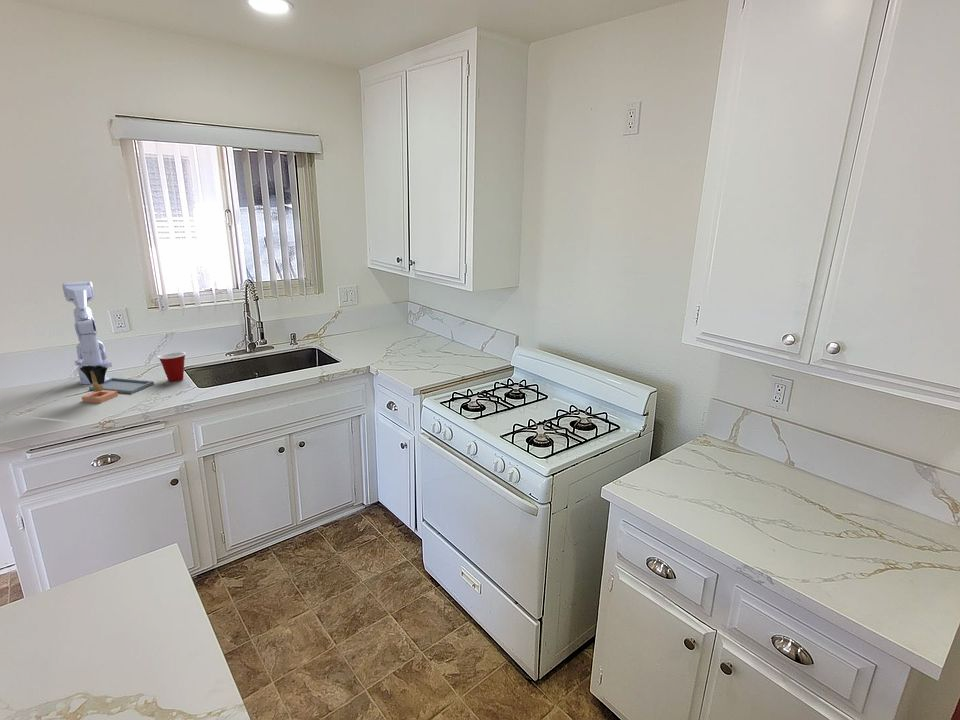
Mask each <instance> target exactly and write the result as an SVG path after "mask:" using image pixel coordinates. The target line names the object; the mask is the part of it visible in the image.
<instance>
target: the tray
mask: <svg viewBox="0 0 960 720" xmlns="http://www.w3.org/2000/svg"><path fill="white" fill-rule="evenodd" d="M109 378H110V379H108V380H105V381H104V383H103V384H102V385H103V390H109V391H117V393H118V394H126V395H133V394H136V393H137V392H140V391H143V390H145V389H146V388H149V387H151V386H154V385H155V382H154V381H153V380H143V379H133V378H122V377H121V378H120V377H109ZM88 389H89V391H94V387H93V385H90V386H89V387H88Z"/></svg>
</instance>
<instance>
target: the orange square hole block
mask: <svg viewBox="0 0 960 720" xmlns="http://www.w3.org/2000/svg"><path fill="white" fill-rule="evenodd" d="M116 397H119V393H117V391H109V390H102V391H98V392H95V391H92V392H90V393H87V394H85V395H83V396H81V400H82V402H84V403H95V404H103V403H105V402H107V401H109V400H112V399H113V398H116Z"/></svg>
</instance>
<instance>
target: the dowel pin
mask: <svg viewBox="0 0 960 720" xmlns="http://www.w3.org/2000/svg"><path fill="white" fill-rule="evenodd" d="M90 373H91V378H92V383H93V384H92V386H93V387H94V390H93V392H98V391H102V390H103V385H102V384H100V385H99V384H98V382H97V379H96V376H95V374H94V372H93V371H91V372H90Z"/></svg>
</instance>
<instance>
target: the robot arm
mask: <svg viewBox="0 0 960 720" xmlns="http://www.w3.org/2000/svg"><path fill="white" fill-rule="evenodd" d="M61 285H62V291H63V295H64V297H65V300H66V301H67V302H69V303H73V305H74V306H75V308H74V309H73V316H74V330H75V334H76V336H77V338H78V341H79V343H77V344H76V353H77V354H76V355H77V359H76V360H74V364H75V366H77V371H78V376H79V380H80V381H79V382H78V384H82V385H93V383H92V378H91V373H90V372H91V371H93V372H94V374H95V376H96V379H97V382H98V384H99V385H100V384H103V383H104V381H105V380H108V379H110V378H111V377H108V375H107V371H108V369H109V368H112V367H113V365H112V362H111V361H108V360H107V359H108V358H107V357H108V356H107V352H106V347H105V345H104V343H103V341H101V340H98V329H97V324H96V320H95V319H94V316H93V315H94V314H93V310H92V308H90V307H89V304H90V303H89V302H90V301H93V300H94V298H95V291H94V287H93V282H92V281H91V280H88V281H76V282H75V281H73V282H63V283H62V284H61Z"/></svg>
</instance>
